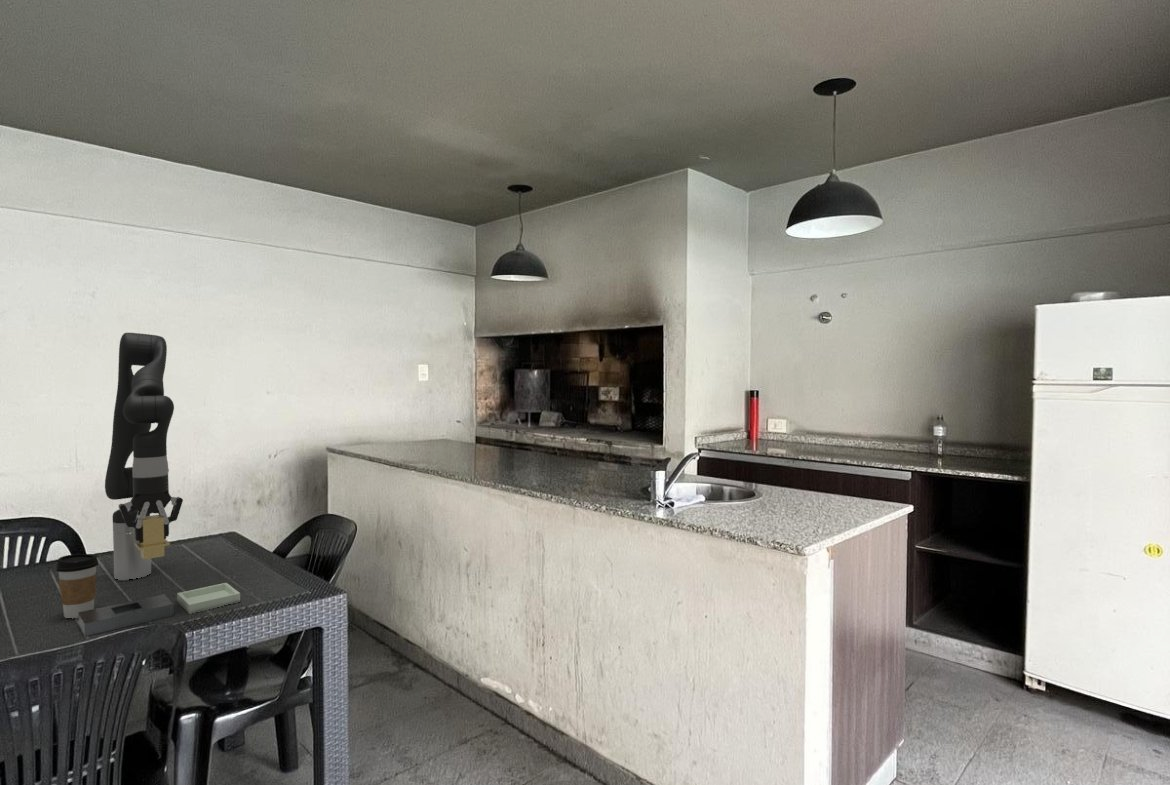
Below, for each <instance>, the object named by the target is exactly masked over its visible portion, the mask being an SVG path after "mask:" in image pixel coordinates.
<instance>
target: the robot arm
mask: <svg viewBox="0 0 1170 785" xmlns="http://www.w3.org/2000/svg"><path fill="white" fill-rule="evenodd" d="M167 347H168V346H167V341H166V339H165V338H164V337H163V336H160V335H156V334H149V333H148V334H146V333H139V332H138V333H137V332H124V333H123V334H122V335H121V337H120V341H119V349H118V368H117V369H118V372H117V388H116V397H115V404H114V411H113V422H112V435H111V446H110V452H109V459H108V464H107V469H106V474H105V480H104V490H105V494H106V497H107V498H109V500H112V501H113V500H115V501H116V500H123V499H130V501H128V502H125V503H120V504H118V509H117V510H115V511H114V512H113V513H112V539H113V541H112V543H113V544H112V545H113V579H114V578H115V579H118V580H117V581H130V580H129V579H133V580H137V579H136V578H138V579H142V578H145V577H147V575H148V576H150V575H151V574H152V558H150V559H145V560H144V559H143V558H142V557H141V550H139V549H138V548H137V547H136V546H135V543H136V542H139V543H142V542H143V536H142V520H143V519H145V516H151V514H157V515H159V516H161V517H164V539H166V540H167V537H169V534H170V523H172V522H176V521H177V520H178V517H179V514H180V511H181V508H182V505H183V501H184V500H183V498H182V497H181V496H177V497H175V496H172V495H170V494H171V493H170V490H169V489H170V486H169V484H170V483H169V472H170V470H169V462H168V456H167V455H168V451H167V448H168V447H167V441H168V440H167V438H168V431H169V427H170V425H171V424H170V423H171V421H172V418H173V414H174V410H175V405H174V401H173V400H172V399H171V397H169V396H168V395H165V388H164V387H165V386H164V374H165V369H166V363H167V353H168V349H167ZM133 366H140V367H141V368H139V369H138V370H137V371H136V372H135V373H134V372H133V369H132V367H133ZM152 424H157V425H156V427H155V428H154V429H153V430H151V428H152ZM132 453H133V454H132ZM131 455H132V457H133V460H132V466H129V467H126V465H127V463H128V460H129V458H130V456H131ZM169 502H171V505H172V508H171V509H172V510H171V512H170V515H169V516H168V515H167V512H166V510H165V508H166V507H167V505H168V504H169ZM149 574H150V575H149ZM141 577H142V578H141ZM115 579H114V580H115Z"/></svg>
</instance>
